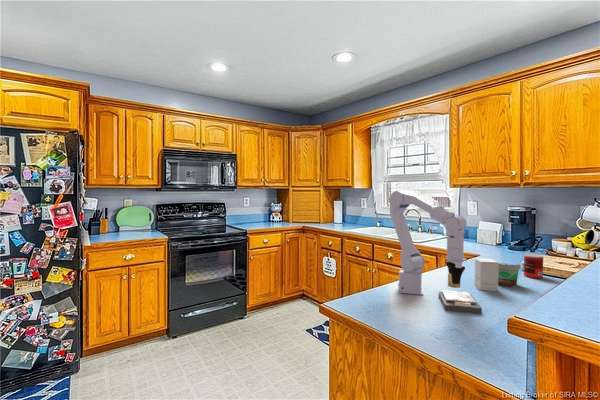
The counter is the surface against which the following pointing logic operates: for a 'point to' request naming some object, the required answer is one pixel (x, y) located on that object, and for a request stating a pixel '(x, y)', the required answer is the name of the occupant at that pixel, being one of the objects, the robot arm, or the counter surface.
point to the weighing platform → (458, 296)
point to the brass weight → (452, 282)
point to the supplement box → (486, 274)
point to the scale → (460, 305)
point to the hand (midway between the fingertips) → (454, 281)
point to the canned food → (533, 266)
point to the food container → (508, 274)
